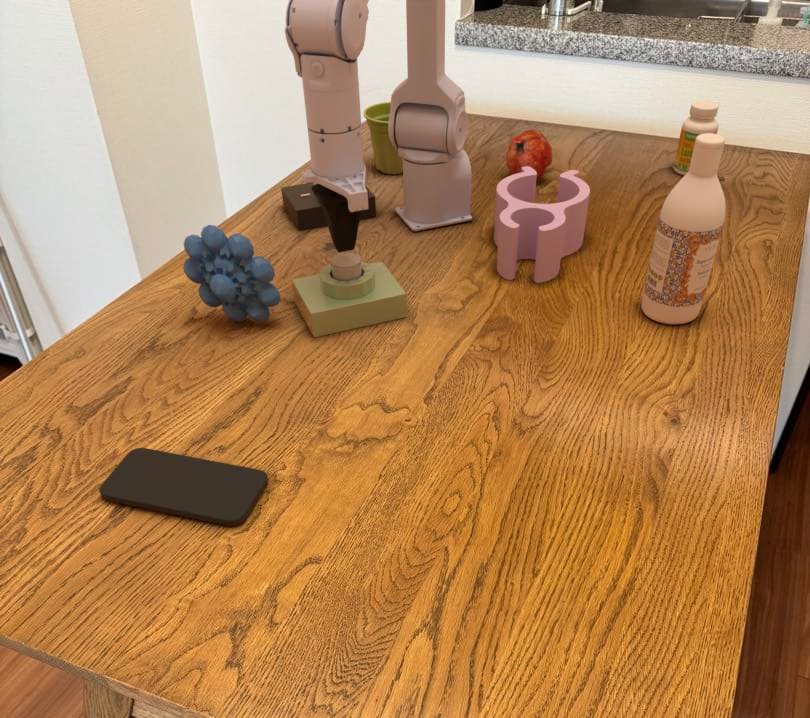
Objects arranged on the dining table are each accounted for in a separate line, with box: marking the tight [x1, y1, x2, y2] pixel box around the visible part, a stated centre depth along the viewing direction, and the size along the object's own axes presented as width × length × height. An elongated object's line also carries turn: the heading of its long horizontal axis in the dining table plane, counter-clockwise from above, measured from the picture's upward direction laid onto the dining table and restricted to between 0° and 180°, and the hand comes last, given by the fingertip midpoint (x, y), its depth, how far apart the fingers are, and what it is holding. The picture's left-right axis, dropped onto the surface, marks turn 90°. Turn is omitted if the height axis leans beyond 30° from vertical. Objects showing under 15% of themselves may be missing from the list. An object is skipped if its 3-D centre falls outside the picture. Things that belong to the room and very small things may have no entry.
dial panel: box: [280, 182, 377, 232], centre depth 117 cm, size 12×9×3 cm
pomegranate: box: [505, 129, 553, 182], centre depth 123 cm, size 7×7×10 cm
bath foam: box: [640, 133, 727, 325], centre depth 88 cm, size 7×7×20 cm
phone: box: [99, 447, 269, 527], centre depth 75 cm, size 7×1×15 cm
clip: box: [493, 166, 591, 284], centre depth 106 cm, size 20×12×7 cm, turn 165°
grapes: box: [182, 224, 282, 323], centre depth 92 cm, size 12×7×12 cm, turn 78°
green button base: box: [291, 260, 408, 338], centre depth 96 cm, size 12×9×5 cm
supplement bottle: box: [673, 100, 720, 177], centre depth 122 cm, size 5×5×10 cm
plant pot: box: [362, 101, 403, 175], centre depth 127 cm, size 9×9×9 cm
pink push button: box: [330, 252, 362, 281], centre depth 94 cm, size 4×4×2 cm
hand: (344, 248), depth 92 cm, fingers closed
